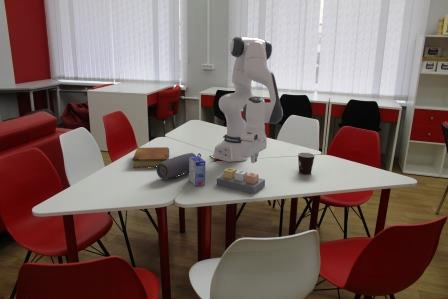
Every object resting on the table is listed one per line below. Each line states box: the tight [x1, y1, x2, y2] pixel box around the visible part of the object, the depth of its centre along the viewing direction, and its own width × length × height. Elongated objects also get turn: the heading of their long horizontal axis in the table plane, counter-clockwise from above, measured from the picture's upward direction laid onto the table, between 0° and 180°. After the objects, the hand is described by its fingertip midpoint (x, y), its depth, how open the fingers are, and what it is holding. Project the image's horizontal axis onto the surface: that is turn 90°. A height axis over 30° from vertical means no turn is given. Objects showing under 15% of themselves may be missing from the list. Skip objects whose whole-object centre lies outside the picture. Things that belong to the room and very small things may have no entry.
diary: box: [132, 146, 170, 169], centre depth 217 cm, size 23×19×6 cm
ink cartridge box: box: [188, 153, 206, 187], centre depth 185 cm, size 10×6×14 cm, turn 23°
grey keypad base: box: [216, 174, 266, 195], centre depth 184 cm, size 20×12×4 cm, turn 59°
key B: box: [235, 169, 248, 182], centre depth 183 cm, size 4×4×5 cm
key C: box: [246, 172, 259, 184], centre depth 180 cm, size 4×4×5 cm
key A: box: [223, 167, 237, 179], centre depth 186 cm, size 4×4×5 cm
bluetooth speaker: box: [155, 152, 197, 180], centre depth 195 cm, size 23×9×10 cm, turn 145°
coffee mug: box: [297, 152, 316, 176], centre depth 205 cm, size 12×9×10 cm
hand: (254, 162), depth 178 cm, fingers closed
